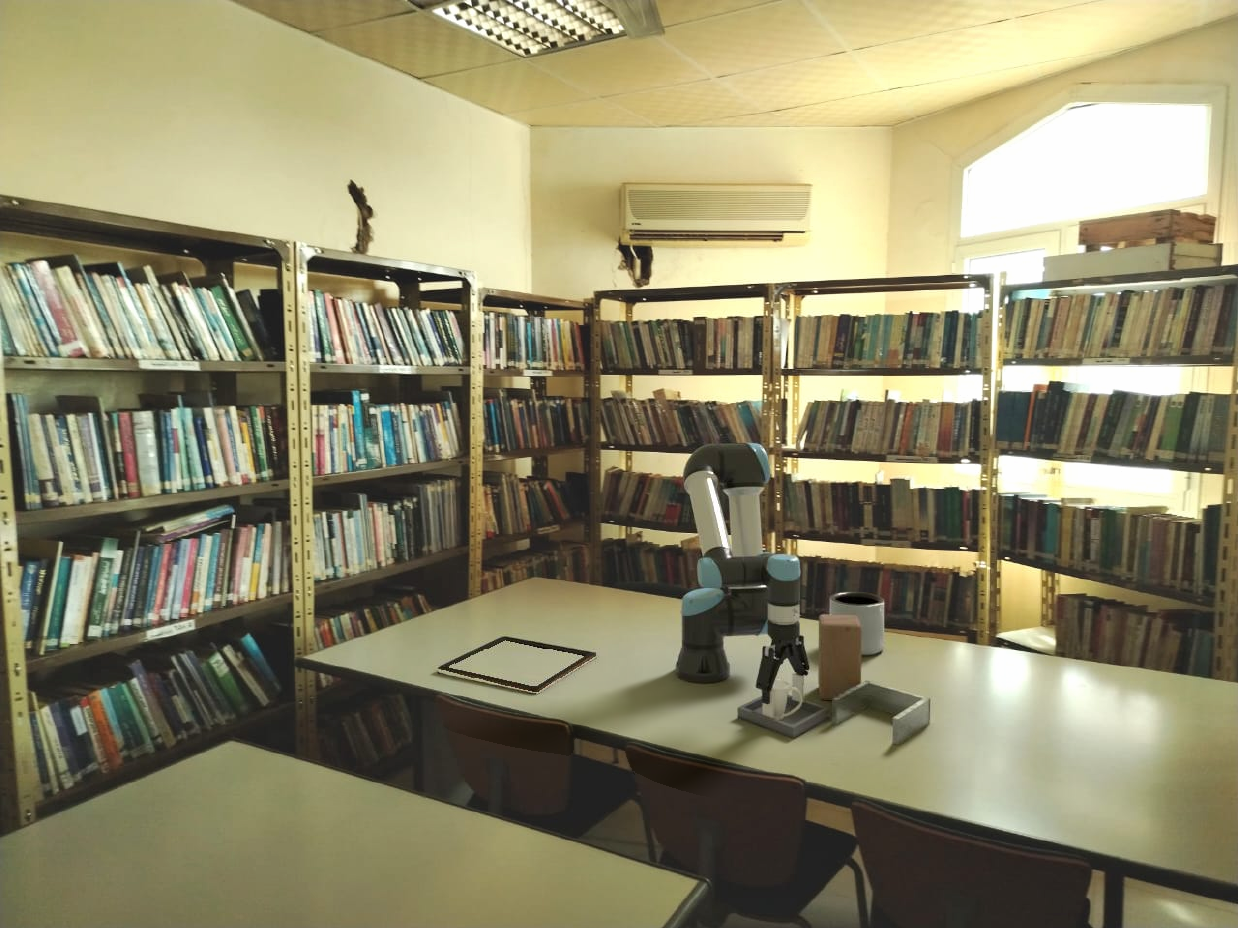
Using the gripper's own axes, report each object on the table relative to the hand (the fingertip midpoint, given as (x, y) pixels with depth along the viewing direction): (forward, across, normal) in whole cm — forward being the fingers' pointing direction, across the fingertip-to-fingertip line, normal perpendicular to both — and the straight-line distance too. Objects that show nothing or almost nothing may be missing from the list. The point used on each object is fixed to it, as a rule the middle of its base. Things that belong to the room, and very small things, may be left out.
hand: (783, 707), depth 187 cm
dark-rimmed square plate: (+3, -23, +76) cm, 79 cm away
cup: (+2, 0, 0) cm, 2 cm away
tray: (+3, 0, 0) cm, 3 cm away
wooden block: (+3, +22, -2) cm, 22 cm away
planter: (+3, +57, +13) cm, 59 cm away
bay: (+3, +14, -18) cm, 23 cm away
